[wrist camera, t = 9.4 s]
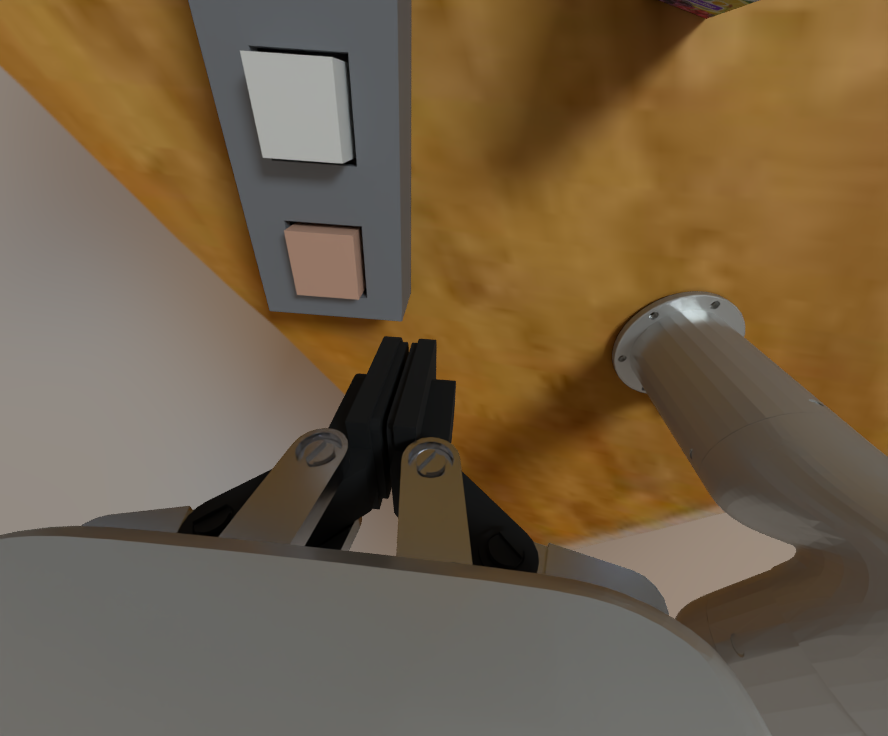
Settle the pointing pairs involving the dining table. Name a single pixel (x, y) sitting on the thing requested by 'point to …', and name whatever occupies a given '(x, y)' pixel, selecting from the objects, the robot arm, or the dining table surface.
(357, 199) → the key console
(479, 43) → the dining table surface
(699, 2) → the snack box
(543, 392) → the dining table surface
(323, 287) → the terracotta key
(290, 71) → the white key
